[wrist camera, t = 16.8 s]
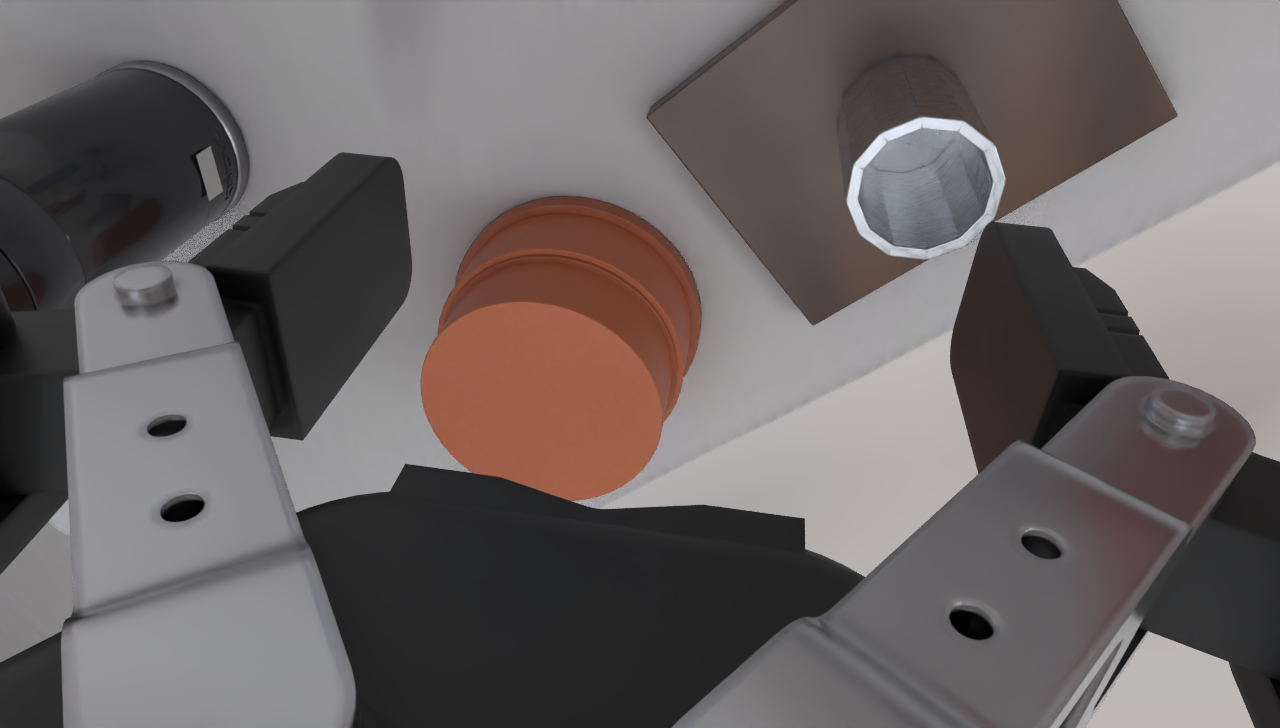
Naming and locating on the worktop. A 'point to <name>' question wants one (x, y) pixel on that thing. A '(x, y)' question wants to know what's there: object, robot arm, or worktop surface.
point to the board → (845, 49)
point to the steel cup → (917, 159)
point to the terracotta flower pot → (562, 347)
